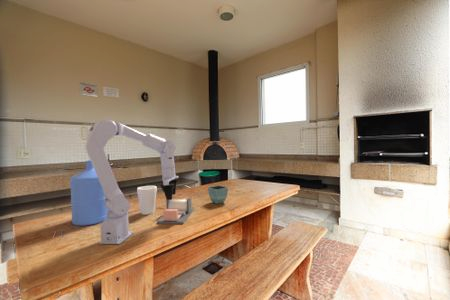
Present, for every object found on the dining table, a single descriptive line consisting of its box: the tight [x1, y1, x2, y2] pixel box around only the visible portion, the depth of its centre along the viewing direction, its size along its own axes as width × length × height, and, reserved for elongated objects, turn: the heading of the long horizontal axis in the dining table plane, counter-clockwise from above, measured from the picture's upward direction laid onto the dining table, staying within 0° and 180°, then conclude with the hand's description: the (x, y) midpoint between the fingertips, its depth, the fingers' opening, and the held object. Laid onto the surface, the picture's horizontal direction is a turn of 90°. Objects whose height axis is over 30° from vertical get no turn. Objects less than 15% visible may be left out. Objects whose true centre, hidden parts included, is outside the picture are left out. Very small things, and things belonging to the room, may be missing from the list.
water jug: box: [69, 160, 108, 227], centre depth 97 cm, size 16×16×28 cm
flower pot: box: [207, 185, 229, 205], centre depth 122 cm, size 9×9×9 cm
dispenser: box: [156, 196, 195, 225], centre depth 101 cm, size 20×12×8 cm, turn 174°
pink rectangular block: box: [162, 208, 183, 221], centre depth 96 cm, size 10×6×4 cm, turn 175°
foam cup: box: [136, 185, 158, 216], centre depth 106 cm, size 10×9×13 cm
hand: (171, 196), depth 94 cm, fingers open, 7 cm apart
